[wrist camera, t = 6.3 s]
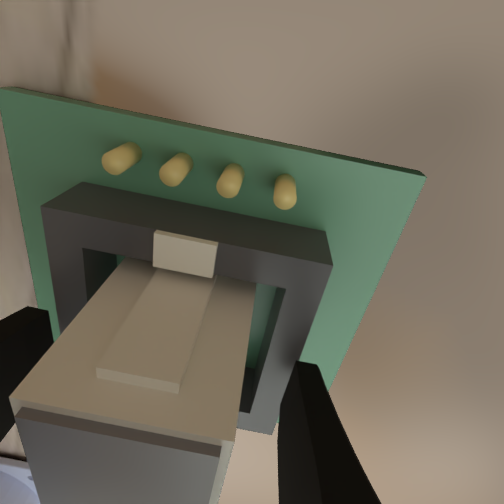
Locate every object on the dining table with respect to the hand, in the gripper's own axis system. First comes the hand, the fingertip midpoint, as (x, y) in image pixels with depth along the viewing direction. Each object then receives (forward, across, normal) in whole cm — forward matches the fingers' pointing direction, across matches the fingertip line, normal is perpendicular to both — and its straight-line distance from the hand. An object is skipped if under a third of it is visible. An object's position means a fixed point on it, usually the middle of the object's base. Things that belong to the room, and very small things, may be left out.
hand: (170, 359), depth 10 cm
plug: (+3, 0, 0) cm, 3 cm away
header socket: (+3, 0, 0) cm, 3 cm away
